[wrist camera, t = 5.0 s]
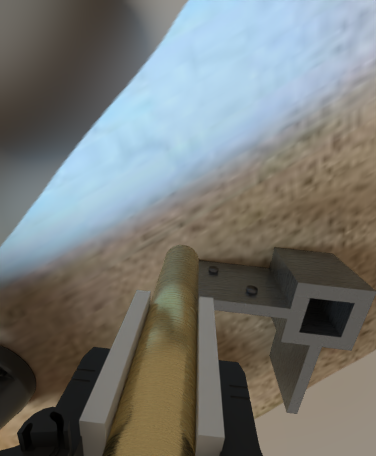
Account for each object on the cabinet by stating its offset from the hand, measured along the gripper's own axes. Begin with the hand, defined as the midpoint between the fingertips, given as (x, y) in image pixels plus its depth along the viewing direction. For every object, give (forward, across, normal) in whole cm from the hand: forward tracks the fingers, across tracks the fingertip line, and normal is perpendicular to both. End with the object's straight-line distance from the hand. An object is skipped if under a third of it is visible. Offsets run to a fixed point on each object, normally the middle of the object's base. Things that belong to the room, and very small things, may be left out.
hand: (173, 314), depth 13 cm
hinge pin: (+7, 0, 0) cm, 7 cm away
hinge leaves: (+17, +10, -11) cm, 22 cm away
